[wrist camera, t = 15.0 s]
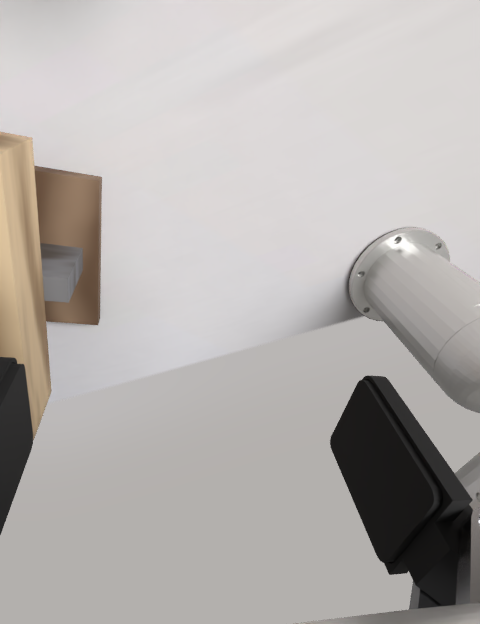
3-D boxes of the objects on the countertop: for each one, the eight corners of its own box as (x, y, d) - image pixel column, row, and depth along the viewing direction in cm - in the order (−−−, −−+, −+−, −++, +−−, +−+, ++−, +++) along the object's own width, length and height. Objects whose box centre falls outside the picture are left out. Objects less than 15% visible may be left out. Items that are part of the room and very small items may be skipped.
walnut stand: (101, 177, 35) (85, 202, 28) (99, 317, 43) (87, 362, 36) (-46, 152, 32) (-101, 174, 25) (-18, 308, 40) (-54, 355, 34)
